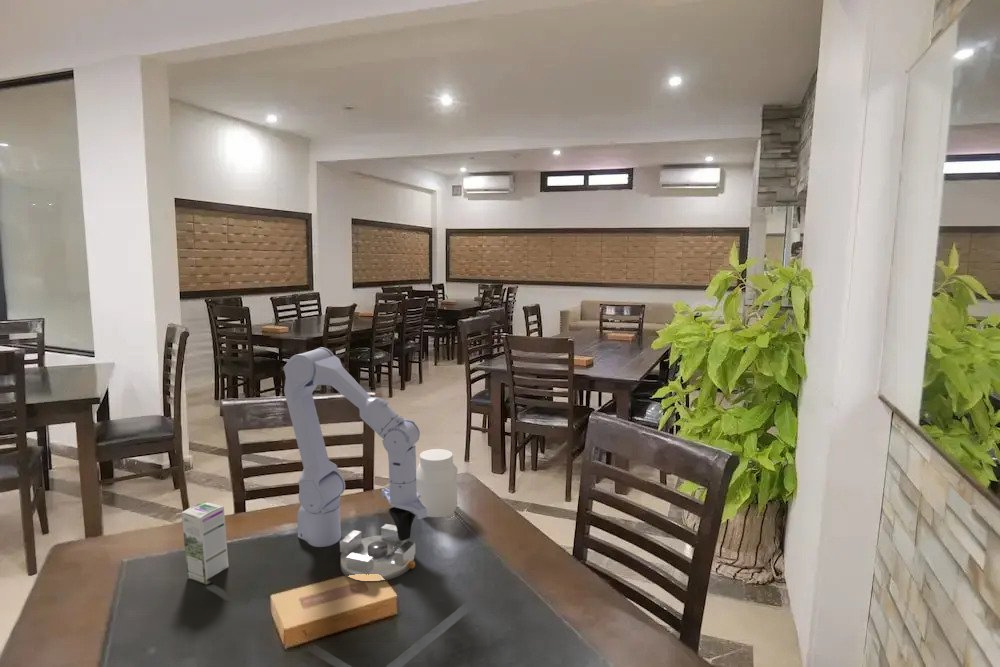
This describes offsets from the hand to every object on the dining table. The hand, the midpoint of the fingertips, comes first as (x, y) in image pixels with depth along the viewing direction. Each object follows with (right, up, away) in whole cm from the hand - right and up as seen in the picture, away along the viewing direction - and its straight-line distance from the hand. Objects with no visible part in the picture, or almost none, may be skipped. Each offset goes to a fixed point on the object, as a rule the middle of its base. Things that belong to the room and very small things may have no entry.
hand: (404, 538), depth 127 cm
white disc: (-5, -4, -4) cm, 7 cm away
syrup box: (-39, -5, -7) cm, 40 cm away
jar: (+5, -1, +22) cm, 23 cm away
